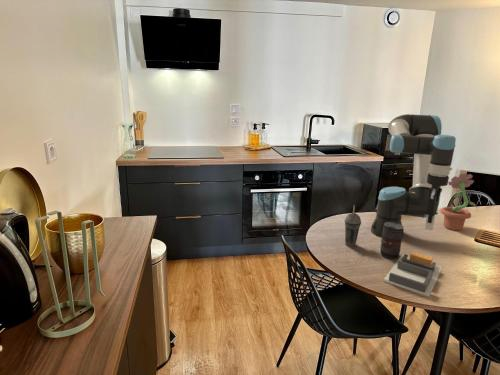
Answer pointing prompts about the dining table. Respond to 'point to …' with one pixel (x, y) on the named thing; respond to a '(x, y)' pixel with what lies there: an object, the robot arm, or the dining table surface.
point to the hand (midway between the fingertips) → (428, 229)
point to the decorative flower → (457, 214)
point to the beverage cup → (351, 228)
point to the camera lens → (391, 240)
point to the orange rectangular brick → (421, 258)
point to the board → (413, 275)
